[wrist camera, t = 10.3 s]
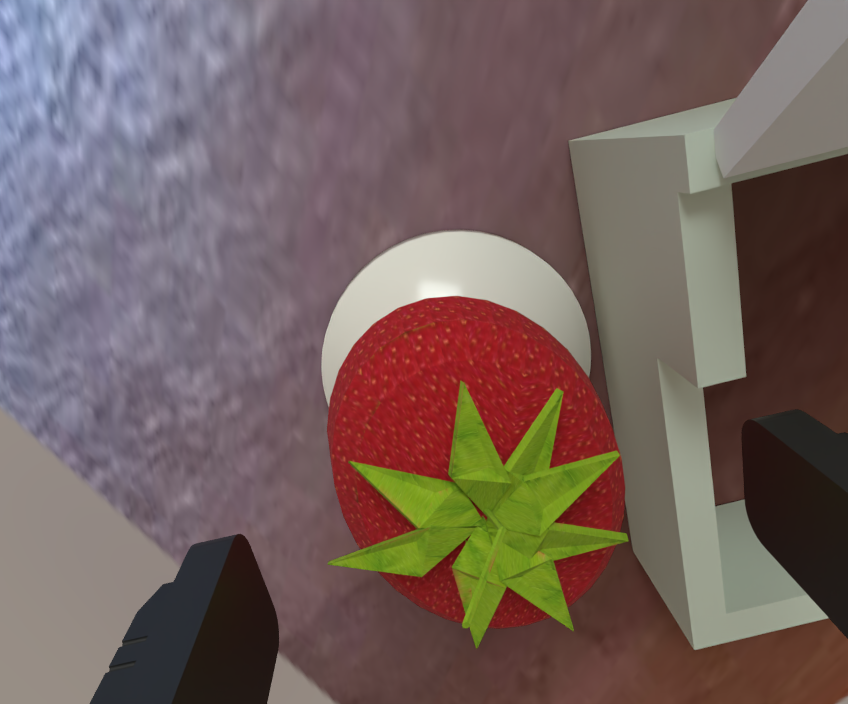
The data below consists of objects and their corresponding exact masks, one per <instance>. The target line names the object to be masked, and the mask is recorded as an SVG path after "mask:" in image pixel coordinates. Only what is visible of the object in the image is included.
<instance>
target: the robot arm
mask: <svg viewBox="0 0 848 704" xmlns="http://www.w3.org/2000/svg"><path fill="white" fill-rule="evenodd" d="M742 455H743V475H744V495H745V507H746V512H747V516H748V519H749V522H750V524H751V527H752V529H753V531H754V533H755V535H756V536H757V538H758V540H759V541H760V542H761V544H762V545H763V546H764V547H765V548H766V549H767V551H768V552H769V553H770V554H771V555H772V556H773V557H774V558H775V559H776V560H777V562H778V563H779V564H780V565H781V566H782V567H783V568H784V569H785V570H786V571H787V573H788V574H789V575H790V576H791V577H792V578H793V579H794V580H795V581H796V582H797V584H798V585H799V586H800V587H801V588H802V589H803V590H804V591H805V592H806V593H807V595H808V596H809V597H810V598H811V599H812V600H813V601H814V602H815V603H816V604H817V605H818V607H819V608H820V609H821V610H822V611H823V612H824V613H825V614H826V615H827V616H828V618H829V619H830V620H831V621H832V622H833V623H834V624H835V625H836V626H837V627H838V629H839V630H840V631H841V632H842V633H843V634H844V635H845V636H846V637H847V638H848V433H845V432H844V433H839V434H837V433H835V432H834V431H832V430H831V429H829V428H828V427H826V426H825V425H823V424H822V423H820V422H819V421H817V420H816V419H814V418H813V417H811V416H810V415H808V414H807V413H805V412H803V411H801V410H796V409H795V410H790V411H786V412H781V413H777V414H773V415H768V416H764V417H759V418H755V419H751V420H747V421H746V422H745V423H744V425H743V428H742ZM122 643H123V646H122V647H119V648H118V650H117V652H116V654H115V656H114V658H113V660H112V662H111V664H110V666H109V668H110V671H109V672H108V673H105V675H104V677H103V679H102V681H101V683H100V685H99V687H98V689H97V690H96V692H95V694H94V696H93V698H92V700H91V702H90V704H267V701H268V696H269V691H270V687H271V682H272V677H273V672H274V668H275V663H276V658H277V653H278V647H279V628H278V620H277V615H276V611H275V608H274V605H273V603H272V600H271V598H270V595H269V592H268V590H267V587H266V585H265V582H264V580H263V577H262V575H261V572H260V569H259V567H258V564H257V562H256V559H255V557H254V554H253V552H252V549H251V546H250V544H249V542H248V540H247V539H246V538H245V536H243V535H242V534H237V535H232V536H228V537H223V538H219V539H215V540H210V541H206V542H201V543H197V544H194V545H192V546H191V547H190V549H189V551H188V553H187V555H186V557H185V559H184V561H183V563H182V565H181V567H180V570H179V572H178V574H177V576H176V578H175V580H174V582H171V583H168V584H163V585H162V586H161V587H160V588H159V589H158V590H157V592H156V593H155V594H154V595H153V596H152V597H151V598H150V599H149V600H148V601H147V602H146V603H145V604H144V605H143V607H141V609H140V610H139V611H138V612H137V614H136V615H135V617H134V619H133V621H132V623H131V625H130V627H129V629H128V631H127V633H126V635H125V637H124V639H123V640H122Z"/></svg>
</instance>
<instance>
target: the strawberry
mask: <svg viewBox="0 0 848 704" xmlns="http://www.w3.org/2000/svg"><path fill="white" fill-rule="evenodd" d="M327 433H328V441H329V449H330V457H331V464H332V471H333V478H334V484H335V489H336V492H337V496H338V499H339V503H340V506H341V510H342V513H343V516H344V518H345V520H346V523H347V525H348V527H349V529H350V531H351V533H352V535H353V537H354V539H355V541H356V543H357V545H358V546H359V547H360V549H361V550H359V551H356V552H353V553H350V554H348V555H345V556H342V557H340V558H337V559H334V560H331V561H329V562H328V565H335V566H343V567H350V568H357V569H365V570H372V571H378V572H379V573H380V574H381V575H382V576H383V577H384V578H385V579H386V580H387V581H388V582H389V583H390V584H391V585H392V586H393V587H394V588H395V589H396V590H397V591H398V592H400V593H401V594H402V595H404V596H405V597H407V598H408V599H410V600H411V601H412V602H414V603H415V604H417V605H418V606H419V607H421V608H423V609H426V610H428V611H430V612H432V613H434V614H436V615H438V616H440V617H442V618H444V619H447V620H451V621H454V622H458V623H462V627H463V628H468V627H470V630H471V634H472V637H473V640H474V643H475V647H476V649H477V648H478V646H479V644H480V642H481V640H482V638H483V636H484V634H485V632H486V630H487V628H497V629H500V628H509V627H519V626H526V625H529V624H532V623H535V622H538V621H541V620H545V619H548V618H550V617H553V618H555V619H556V620H558V621H559V622H560V623H562V624H563V625H565V626H566V627H568V628H569V629H571V630H572V631H574V628H573V624H572V621H571V618H570V614H569V611H568V607H569V606H571V605H572V604H573V603H574V602H576V601H577V600H578V599H579V598H580V597H581V596H582V595H584V594H585V593H586V592H587V591H588V590H589V589H590V588H591V587H592V585H593V584H594V583H595V581H596V580H597V579H598V577H599V576H600V575H601V573H602V572H603V571H604V569H605V568H606V566H607V564H608V562H609V560H610V557H611V555H612V553H613V551H614V549H615V547H616V545H617V544H620V543H624V542H627V541H628V537H627V533H620V530H621V526H622V522H623V518H624V502H625V481H624V473H623V465H622V458H621V455H620V451H619V448H618V445H617V442H616V439H615V435H614V432H613V429H612V426H611V424H610V422H609V419H608V417H607V414H606V412H605V409H604V407H603V405H602V403H601V401H600V399H599V397H598V395H597V393H596V391H595V389H594V387H593V385H592V383H591V381H590V379H589V377H588V375H587V374H586V373H585V372H584V370H583V369H582V368H581V366H580V365H579V364H578V362H577V361H576V360H575V358H574V357H573V356H572V354H571V353H570V352H569V350H568V349H567V348H565V347H564V346H563V345H562V344H561V343H560V342H559V341H558V340H557V339H556V338H555V337H553V336H552V335H551V334H550V333H549V332H548V331H547V330H546V329H545V328H543V327H542V326H540V325H538V324H537V323H535V322H534V321H532V320H530V319H529V318H527V317H526V316H524V315H522V314H521V313H519V312H518V311H515V310H513V309H510V308H507V307H504V306H502V305H499V304H496V303H494V302H491V301H488V300H483V299H476V298H469V297H462V296H447V297H435V298H426V299H423V300H420V301H417V302H414V303H411V304H408V305H405V306H402V307H399V308H397V309H395V310H394V311H392V312H391V313H389V314H388V315H386V316H385V317H383V318H381V319H380V320H378V321H377V322H375V323H374V324H373V325H372V326H371V327H370V328H369V329H368V330H367V331H366V332H365V333H364V334H363V335H362V336H361V337H360V338H359V340H358V341H357V342H356V343H355V344H354V345H353V346H352V348H351V350H350V352H349V353H348V355H347V357H346V359H345V360H344V362H343V364H342V366H341V367H340V369H339V371H338V374H337V378H336V381H335V384H334V387H333V391H332V394H331V397H330V403H329V414H328V425H327Z"/></svg>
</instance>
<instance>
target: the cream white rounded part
mask: <svg viewBox="0 0 848 704" xmlns="http://www.w3.org/2000/svg"><path fill="white" fill-rule="evenodd" d="M447 296H462V297H469V298H476V299H483V300H488V301H491V302H494V303H496V304H499V305H502V306H504V307H507V308H510V309H513V310H515V311H518V312H519V313H521V314H522V315H524V316H526V317H527V318H529V319H530V320H532V321H534V322H535V323H537V324H538V325H540V326H542V327H543V328H545V329H546V330H547V331H548V332H549V333H550V334H551V335H552V336H553V337H555V338H556V339H557V340H558V341H559V342H560V343H561V344H562V345H563V346H564V347H565V348H567V349H568V350H569V352H570V353H571V354H572V356H573V357H574V358H575V360H576V361H577V362H578V364H579V365H580V366H581V368H582V369H583V370H584V372H585V373H586V374H587V375H588V377H589V375H590V368H591V346H590V336H589V332H588V327H587V323H586V320H585V317H584V314H583V312H582V309H581V307H580V304H579V303H578V301H577V299H576V297H575V295H574V294H573V292H572V290H571V289H570V287H569V286H568V285H567V284H566V282H565V281H564V280H563V278H562V277H561V276H560V275H559V274H558V273H557V272H556V271H555V270H554V269H553V268H552V267H551V266H550V265H549V264H548V263H546V262H545V261H544V260H542V259H541V258H539V257H538V256H537V255H535V254H534V253H532V252H531V251H530V250H528V249H527V248H525V247H523V246H521V245H519V244H517V243H515V242H513V241H511V240H509V239H506V238H503V237H501V236H498V235H495V234H490V233H486V232H481V231H474V230H462V229H457V230H441V231H436V232H430V233H425V234H421V235H418V236H415V237H412V238H409V239H406V240H404V241H402V242H400V243H398V244H396V245H394V246H392V247H390V248H388V249H387V250H385V251H384V252H382V253H381V254H379V255H378V256H376V257H375V258H374V259H372V260H371V261H370V262H369V263H368V264H367V265H366V266H364V267H363V268H362V269H361V270H360V271H359V272H358V274H357V275H356V276H355V277H354V278H353V279H352V280H351V281H350V283H349V284H348V286H347V287H346V289H345V290H344V292H343V293H342V295H341V296H340V298H339V300H338V302H337V304H336V306H335V308H334V311H333V313H332V316H331V319H330V322H329V325H328V328H327V331H326V334H325V339H324V345H323V350H322V368H321V370H322V380H323V388H324V392H325V396H326V400H327V403H328V406H329V403H330V397H331V394H332V391H333V387H334V384H335V381H336V378H337V374H338V371H339V369H340V367H341V366H342V364H343V362H344V360H345V359H346V357H347V355H348V353H349V352H350V350H351V348H352V346H353V345H354V344H355V343H356V342H357V341H358V340H359V338H360V337H361V336H362V335H363V334H364V333H365V332H366V331H367V330H368V329H369V328H370V327H371V326H372V325H373V324H374V323H375V322H377V321H378V320H380V319H381V318H383V317H385V316H386V315H388V314H389V313H391V312H392V311H394V310H395V309H397V308H399V307H402V306H405V305H408V304H411V303H414V302H417V301H420V300H423V299H426V298H435V297H447Z"/></svg>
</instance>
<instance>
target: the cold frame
mask: <svg viewBox="0 0 848 704" xmlns="http://www.w3.org/2000/svg"><path fill="white" fill-rule="evenodd" d="M568 143H569V149H570V155H571V162H572V168H573V174H574V181H575V187H576V193H577V200H578V206H579V212H580V219H581V225H582V231H583V238H584V244H585V250H586V257H587V263H588V269H589V276H590V282H591V288H592V295H593V301H594V307H595V314H596V320H597V326H598V333H599V339H600V345H601V352H602V358H603V364H604V371H605V377H606V383H607V390H608V396H609V402H610V409H611V415H612V421H613V428H614V434H615V439H616V442H617V445H618V448H619V451H620V455H621V458H622V465H623V473H624V481H625V504H626V510H627V516H628V523H629V529H630V535H631V542H632V548H633V552H634V554H635V555H636V557H637V558H638V560H639V562H640V563H641V565H642V566H643V568H644V570H645V571H646V573H647V575H648V576H649V578H650V579H651V581H652V583H653V584H654V586H655V588H656V589H657V591H658V592H659V594H660V596H661V597H662V599H663V600H664V602H665V604H666V605H667V607H668V609H669V610H670V612H671V613H672V615H673V617H674V618H675V620H676V622H677V623H678V625H679V626H680V628H681V630H682V631H683V633H684V635H685V636H686V638H687V639H688V641H689V643H690V644H691V646H692V647H693V649H694V650H697V649H701V648H706V647H710V646H714V645H718V644H722V643H727V642H731V641H735V640H739V639H743V638H747V637H752V636H756V635H760V634H764V633H768V632H773V631H777V630H781V629H785V628H789V627H793V626H798V625H802V624H806V623H810V622H814V621H818V620H823V619H827V618H828V616H827V615H826V614H825V613H824V612H823V611H822V610H821V609H820V608H819V607H818V605H817V604H816V603H815V602H814V601H813V600H812V599H811V598H810V597H809V596H808V595H807V593H806V592H805V591H804V590H803V589H802V588H801V587H800V586H799V585H798V584H797V582H796V581H795V580H794V579H793V578H792V577H791V576H790V575H789V574H788V573H787V571H786V570H785V569H784V568H783V567H782V566H781V565H780V564H779V563H778V562H777V560H776V559H775V558H774V557H773V556H772V555H771V554H770V553H769V552H768V551H767V549H766V548H765V547H764V546H763V545H762V544H761V542H760V541H759V540H758V538H757V536H756V535H755V533H754V531H753V529H752V527H751V524H750V522H749V519H748V516H747V512H746V507H745V499H744V500H740V501H736V502H732V503H728V504H723V505H719V506H715V501H714V491H713V481H712V472H711V462H710V452H709V442H708V433H707V423H706V413H705V403H704V394H703V387H706V386H710V385H714V384H718V383H723V382H727V381H731V380H735V379H739V378H743V377H746V367H745V354H744V341H743V328H742V315H741V302H740V290H739V277H738V264H737V251H736V238H735V225H734V212H733V199H732V186H731V183H735V182H739V181H743V180H747V179H751V178H755V177H759V176H762V175H766V174H770V173H774V172H778V171H782V170H786V169H790V168H794V167H798V166H802V165H806V164H810V163H814V162H818V161H822V160H826V159H829V158H833V157H837V156H841V155H845V154H848V0H808V1H807V2H806V4H805V5H804V6H803V8H802V9H801V10H800V12H799V13H798V15H797V16H796V17H795V19H794V20H793V21H792V23H791V24H790V26H789V27H788V28H787V30H786V31H785V32H784V34H783V35H782V37H781V38H780V39H779V41H778V42H777V43H776V45H775V46H774V48H773V49H772V50H771V52H770V53H769V54H768V56H767V57H766V59H765V60H764V61H763V63H762V64H761V65H760V67H759V68H758V70H757V71H756V72H755V74H754V75H753V76H752V78H751V79H750V81H749V82H748V83H747V85H746V86H745V87H744V89H743V90H742V92H741V93H740V94H739V96H738V97H737V98H733V99H729V100H726V101H722V102H718V103H714V104H710V105H706V106H702V107H698V108H694V109H690V110H687V111H683V112H679V113H675V114H671V115H667V116H663V117H659V118H655V119H652V120H648V121H644V122H640V123H636V124H632V125H628V126H624V127H620V128H616V129H613V130H609V131H605V132H601V133H597V134H593V135H589V136H585V137H581V138H577V139H574V140H570V141H568Z"/></svg>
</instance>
